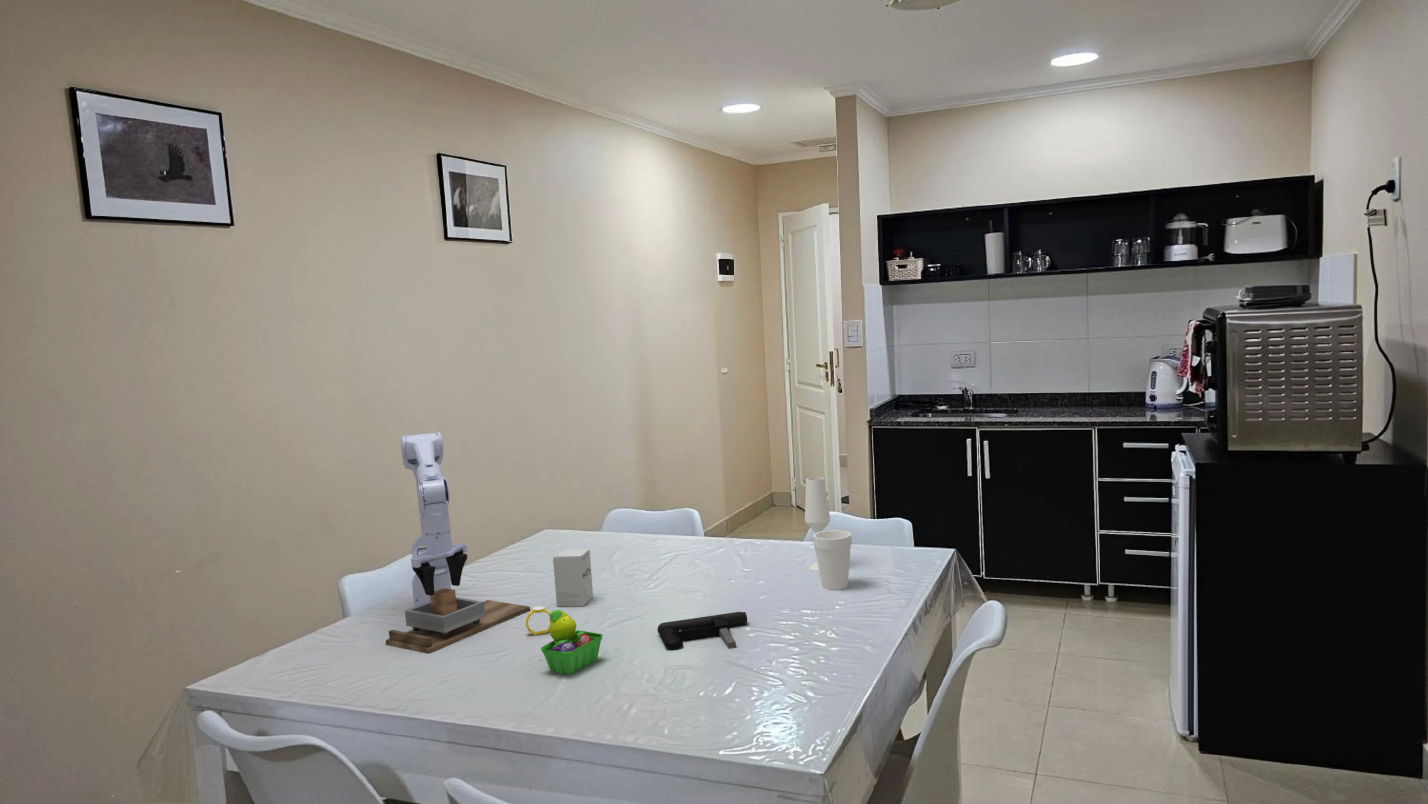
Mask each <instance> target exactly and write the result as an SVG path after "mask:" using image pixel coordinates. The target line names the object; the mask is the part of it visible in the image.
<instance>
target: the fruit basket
mask: <svg viewBox="0 0 1428 804" xmlns="http://www.w3.org/2000/svg"><path fill="white" fill-rule="evenodd" d="M550 613H551V614H550V616H549V626H550V628H549V635H550V637H551V638H552V641H550V642H549V643H547V644H545V645H543V646H541V647H540V651H541V652H542V653H543V656H544V658H545V660H546V664H547V665H548V668H549V671H551V672H555V673H558V672H559V674H564V673H566V675H571V674H573V673H575V672H576V670H577V671H578V670H580V669H582V668H583V667H586V666H588V665H590V664H592V663H593V662H595V661H596V660H598V657H599V651H600V649H601V641H602V640H603V636H604V635H603V634H602V633H597V632H592V631H587V630H586V631H585V630H579V629H577V626H578V625H577V622H576V621H575V620H574V619H573V618H572V617H571V615H568V614H567V613H566V612H565V611H563V610H561V609H554V610H552V612H550ZM576 629H577V630H576ZM574 671H575V672H574Z"/></svg>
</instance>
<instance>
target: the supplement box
mask: <svg viewBox="0 0 1428 804" xmlns="http://www.w3.org/2000/svg"><path fill="white" fill-rule="evenodd" d="M590 552H591V551H590V548H580V549H579V548H578V549H577V548H574V549H563V550H561V551H560V552H557V554H555V555H554V556H553V557H552V560H553V561H552V562H553V563H552V564H553V573H554V574H553V575H554V586H555V587H554V588H555V600H556V601H555V602H556V606H557V607H584V606H585V605H587V603H588V602H589V601H591V600H592V599H593V598H594V590H593V576H592V575H593V574H592V564H591V563H592V562H591V553H590Z"/></svg>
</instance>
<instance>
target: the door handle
mask: <svg viewBox="0 0 1428 804" xmlns="http://www.w3.org/2000/svg"><path fill="white" fill-rule="evenodd" d="M744 624H748V615H747V612H746V611H735V612H734V611H733V612H728V613H721V614H714V615H707V616H700V617H693V618H687V619H680V620H679V619H678V620H673V621H667V622H665V621H664V622H662V623H660V624H659V625H658V626H657V629H656V630H657V634H658V636H660V639H661V640H662V642H663V645H664V647H665V649H666V650H668V651H675V650H680V649H682V647H683V646H684V643H683V642H690V641H691V642H692V641H697V640H705V639H711V638H717V637H718V638H720V639H721V641H722V642H723V644H724V645H725V646H726V647H727V649H736V648H737V645H736V644H737V642H736V640H735V639H734V637H733V635H732V634H731V632H730V627H731V628H732V627H739V626H743V625H744Z"/></svg>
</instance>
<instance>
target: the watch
mask: <svg viewBox="0 0 1428 804" xmlns="http://www.w3.org/2000/svg"><path fill="white" fill-rule="evenodd" d="M543 612H544V613H546V614H547V615H548V616H549V617H550V614H551V612H550V611H549V610H547V609H546V607H545V606H534V607H533V608H532V610H530V611H529V613H527V615H526V618H525V626H526V627H525V628H526V629H527V631H528V632H529V633H530V634H532V636H533V635H534V636H536V634H537V635H543V633H545V634H548V633H550V631H549V628H550V625H549V627H547V629H545V630H538V631H534V630H532V628H530V626H529V622H528V621H529V619H530V617H531V616H532V615H533V614H535V613H536V614H539V613H543Z"/></svg>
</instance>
